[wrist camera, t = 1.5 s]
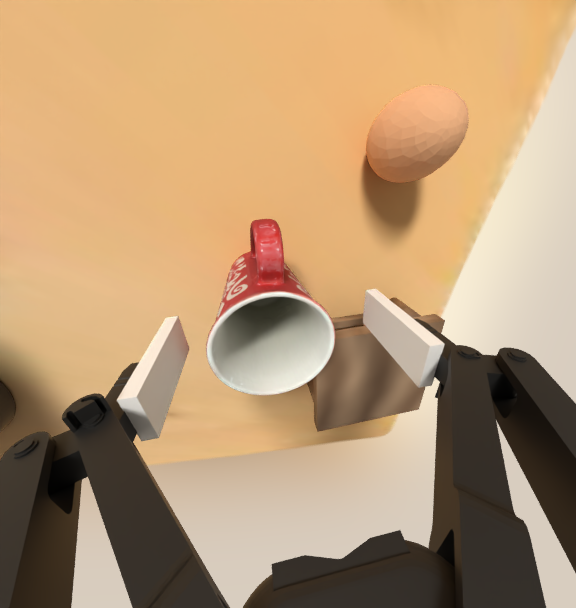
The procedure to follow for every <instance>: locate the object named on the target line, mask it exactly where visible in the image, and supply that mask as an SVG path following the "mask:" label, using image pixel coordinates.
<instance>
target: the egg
mask: <svg viewBox="0 0 576 608" xmlns="http://www.w3.org/2000/svg"><path fill="white" fill-rule="evenodd" d="M468 121H469V116H468V108H467V106H466V103H465V101H464V100H463V99H462V98H461V97H460V96H459V95H458V94H457V93H456V92H455V91H453V90H451V89H448V88H446V87H442V86H439V85H423V86H418V87H415V88H413V89H410V90H408V91H405V92H404V93H402V94H400V95H398V96H397V97H395V98H394V99H392V100H391V101H390V102H389V103H388V104H386V106H385V107H384V108H383V109H382V110H381V112H380V113H379V114H378V115H377V117H376V118H375V120H374V122H373V124H372V126H371V128H370V131H369V134H368V138H367V144H366V152H367V158H368V162H369V164H370V166H371V168H372V169H373V170H374V172H375V173H376V174H377V175H378V176H380V177H381V178H382V179H385V180H387V181H390V182H398V183H403V182H411V181H415V180H419V179H421V178H423V177H425V176H427V175H429V174H431V173H433V172H434V171H435V170H437V169H438V168H440V167H441V166H442V165H443V164H445V163H446V162H447V161H448V160H449V159H450V158H451V157H452V156H453V154H454V153H455V152H456V151H457V150H458V148H459V146H460V145H461V143H462V141H463V139H464V137H465V134H466V131H467V128H468Z"/></svg>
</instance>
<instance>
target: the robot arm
mask: <svg viewBox="0 0 576 608" xmlns="http://www.w3.org/2000/svg"><path fill="white" fill-rule="evenodd" d="M363 323H364V324H365V326H366V327H367V328H368V329H369V330H370V331H371V333H372V334H373V335H374V336H375V337H376V339H377V340H378V341H379V342H380V343H381V344H382V346H383V347H384V348H385V349H386V350H387V351H388V353H389V354H390V355H391V356H392V357H393V358H394V360H395V361H396V362H397V363H398V364H399V365H400V367H401V368H402V369H403V370H404V371H405V372H406V374H407V375H408V376H409V377H410V378H411V379H412V381H413V382H414V383H415V384H416V385H417V386H418V388H420V387H425V386H431V385H432V383H433V380H434V377H436V378H437V379H438V380H439V381H440V384H439V387H438V390H437V393H436V396H435V397H436V398H438V408H437V409H438V410H437V432H436V433H437V434H436V458H435V481H434V506H433V525H432V531H431V536H430V542H429V549H428V548H426V547H424V546H422V545H420V544H417V543H414V542H411V541H407V540H404V538H403V536H402V534H401V531H400V530H399V531H395V532H392V533H388V534H384V535H380V536H376V537H372V538H370V539H368V540H367V541H366V542H364V543H363V544H362V545H360V546H359V547H358V548H356V549H355V550H353V551H352V552H351V553H350V554H348V555H347V556H345V557H344V558H342V559H332V558H323V557H314V556H306V555H305V556H300V557H297V558H293V559H289V560H285V561H282V562H278V563H274V564H272V575H270V576H269V577H268V578H266V579H265V580H264V581H263V582H262V583H261V584H260V585H259V586H258V587H257V588H256V589H255V591H254V592H253V593H252V594H251V596H250V597H249V599H248V600H247V602H246V603H245V605H244V606H243V608H546V605H545V601H544V597H543V592H542V588H541V583H540V579H539V574H538V570H537V566H536V561H535V557H534V552H533V548H532V543H531V539H530V535H529V532H528V529H527V526H526V524H525V523H524V521H523V520H521V519H520V518H518V517H516V515H515V513H514V510H513V506H512V501H511V496H510V491H509V485H508V480H507V475H506V470H505V465H504V459H503V454H502V449H501V444H500V439H499V434H498V428H497V423H496V420H497V422H498V424H499V426H500V428H501V430H502V432H503V434H504V436H505V438H506V440H507V442H508V444H509V445H510V447H511V449H512V451H513V453H514V455H515V457H516V459H517V461H518V463H519V465H520V467H521V469H522V471H523V472H524V474H525V476H526V478H527V480H528V482H529V484H530V486H531V488H532V490H533V492H534V494H535V495H536V497H537V499H538V501H539V503H540V505H541V507H542V509H543V511H544V513H545V515H546V517H547V519H548V521H549V523H550V524H551V526H552V528H553V530H554V532H555V534H556V536H557V538H558V540H559V541H560V543H561V546H562V548H563V549H564V551H565V553H566V555H567V557H568V559H569V561H570V563H571V565H572V567H573V569H574V571H575V573H576V404H575V403H574V401H573V400H572V399H571V398H570V397H569V396H568V395H567V394H566V393H565V392H564V390H563V389H562V388H561V387H560V386H559V385H558V384H557V383H556V381H554V379H553V378H552V377H551V376H550V375H549V374H548V373H547V372H546V370H545V369H544V368H543V367H542V366H541V365H540V364H539V363H538V362H537V360H536V359H535V358H533V357H532V356H531V355H530V354H528V353H526V352H524V351H522V350H519V349H514V348H502V349H500V350H499V352H498V354H497V356H494V355H482V354H481V353H480V352H479V351H477V350H475V349H473V348H471V347H467V346H462V345H455V344H454V343H453V342H451V341H450V340H449V339H447V338H446V337H445V336H443V335H442V334H441V333H439V332H438V331H437V330H436V329H434V328H432V326H430V325H429V324H428V323H426V322H424V321H422V320H420V319H413V318H412V317H410V316H409V315H408V314H407V313H405V312H404V311H403V310H402V309H400V308H399V307H398V306H397V305H395V304H394V303H393V302H392V301H390V300H389V299H388V298H387V297H385V296H384V295H383V294H382V293H380V292H379V291H378V290H377V289H371V290H366V293H365V303H364V313H363ZM188 351H189V346H188V343H187V340H186V337H185V335H184V332H183V329H182V326H181V323H180V320H179V317H178V316H175V317H167V318H166V319H165V320H164V322H163V324H162V325H161V327H160V329H159V330H158V332H157V334H156V335H155V337H154V339H153V340H152V342H151V344H150V345H149V347H148V349H147V350H146V352H145V354H144V355H143V357H142V359H141V360H140V362H138V363H132V364H131V365H129V366H128V367H127V368H126V369H125V370H124V371H123V372H122V374H121V375H120V377H119V378H118V380H117V381H116V383H115V384H114V387H112V389H111V390H110V392H109V393H108V395H107V396H106V398H104V396H102V395H101V394H91V395H87V396H85V397H83V398H80V399H79V400H77V401H76V402H74V403H72V404H71V405H70V406H69V407H68V408H67V409H66V410H65V412H64V413H63V415H62V420H63V421H64V422H65V424H66V425H67V426H68V427H69V428H70V430H69V431H67V432H64V433H62V434H59V435H57V436H54V437H51V436H50V435H49V434H48V433H46V432H37V433H34V434H31V435H29V436H27V437H25V438H23V439H21V440H20V441H18V442H17V443H15V444H14V445H13V446H12V447H11V448H10V449H9V450H7V451H6V452H5V454H4V455H3V457H2V458H1V460H0V608H71V603H72V591H73V579H74V578H73V577H74V567H75V553H76V543H77V530H78V519H79V507H80V494H81V482H82V479H84V478H86V477H88V478H89V480H90V484H91V487H92V489H93V493H94V495H95V498H96V501H97V504H98V507H99V510H100V513H101V516H102V519H103V522H104V525H105V528H106V530H107V534H108V537H109V539H110V542H111V545H112V548H113V551H114V554H115V557H116V560H117V563H118V566H119V569H120V572H121V575H122V578H123V580H124V583H125V586H126V589H127V592H128V595H129V598H130V601H131V604H132V607H133V608H230V607H229V605H228V604H227V602H226V601H225V599H224V597H223V595H222V594H221V592H220V591H219V589H218V587H217V586H216V584H215V582H214V581H213V579H212V577H211V576H210V574H209V572H208V570H207V569H206V567H205V565H204V564H203V562H202V560H201V558H200V557H199V555H198V553H197V551H196V550H195V548H194V546H193V544H192V543H191V541H190V539H189V538H188V536H187V534H186V532H185V531H184V529H183V527H182V526H181V524H180V522H179V520H178V519H177V517H176V516H175V513H174V512H173V510H172V508H171V507H170V505H169V503H168V501H167V500H166V498H165V496H164V495H163V493H162V491H161V490H160V488H159V486H158V484H157V482H156V481H155V479H154V477H153V476H152V474H151V472H150V470H149V469H148V467H147V465H146V464H145V462H144V460H143V458H142V457H141V455H140V453H139V451H138V450H137V448H136V446H135V445H134V443H133V441H134V439H135V436H136V434H137V435H138V436H139V438H140V439H141V441H145V440H150V439H155V438H159V436H160V433H161V430H162V427H163V424H164V421H165V419H166V416H167V413H168V410H169V407H170V404H171V401H172V398H173V395H174V392H175V389H176V386H177V384H178V381H179V378H180V375H181V372H182V369H183V366H184V363H185V360H186V357H187V354H188ZM14 414H15V403H14V400H13V397H12V395H11V394H10V392H9V391H8V389H7V388H6V387H5V386H4V385H3V384H2V383H1V382H0V432H1V431H2V430H3V429H4V428H5V427H6V426H7V425H8V424H9V423H10V421H11V420H12V418H13V416H14Z"/></svg>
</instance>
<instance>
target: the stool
mask: <svg viewBox="0 0 576 608" xmlns="http://www.w3.org/2000/svg"><path fill="white" fill-rule="evenodd" d="M390 301H392V302H393V303H394V304H395V305H397V306H398V307H399V308H400V309H402V310H403V311H404V312H405V313H407V314H408V315H409V316H410V317H412V318H413V319H420V320H422V321H424V322H426V323H428V324H429V325H430V326H432V328H434V329H436V330H437V331H438V332H439V333H441V332H442V329H443V325H444V322H445V320H443V319H442V318H440V317H439V316H437V315H436V314H432V315H426V316H420V315H419V314H418V313H416V312H415V311H414V310H412V309H411V308H409V307H408V306H407V305H405V304H404V303H403V302H401V301H400V300H398V299H397V298H391V299H390ZM332 322H333V324H334V328H335V329H339V328H345V327H351V326H357V325H363V324H364V323H363V314H358V315H351V316H345V317H339V318H333V319H332ZM307 384H308V386H309V389H310V392H311V395H312V398H313V401H314V422H315V425H316V428H317V431H323V430H327V429H332V428H336V427H341V426H345V425H350V424H354V423H359V422H363V421H368V420H373V419H377V418H382V417H386V416H391V415H395V414H400V413H404V412H409V411H413V410H418V409H419V406H420V403H421V400H422V396H423V393H424V390H425V387H420V388H418V386H417V385H416V384H415V383H414V382H413V381H412V379H411V378H410V377H409V376H408V375H407V374H406V372H405V371H404V370H403V369H402V368H401V367H400V365H399V364H398V363H397V362H396V361H395V360H394V358H393V357H392V356H391V355H390V354H389V353H388V351H387V350H386V349H385V348H384V347H383V346H382V344H381V343H380V342H379V341H378V340H377V339H376V337H375V336H374V335H373V334H372V333H371V331H370V330H369V329H368V328H367V327H366V326H360V327H354V328H348V329H342V330H336V331H335V345H334V350H333V352H332V355H331V357H330V359H329V361H328V363H327V364H326V365H325V367H324V368H323V369H322V371H321V372H320V373H319V374H318V375H316V376H315V377H314V378H313V379H312V380H310V381H309V382H307Z"/></svg>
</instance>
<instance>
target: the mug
mask: <svg viewBox="0 0 576 608" xmlns="http://www.w3.org/2000/svg"><path fill="white" fill-rule="evenodd" d="M250 238H251V240H250V241H251V251H250V252H248V253H245V254H243V255H242V256H240V257H239V258H238V259H237V260H236V261H235V262H234V264H233V265H232V267H231V269H230V272H229V274H228V279H227V283H226V286H225V290H224V293H223V297H222V301H221V303H220V307H219V311H218V314H217V318H216V321H215V323H214V325H213V326H212V328H211V330H210V333H209V335H208V339H207V344H206V355H207V359H208V363H209V365H210V367H211V369H212V371H213V372H214V374H215V375H216V376H217V377H218V378H219V379H220V380H221V381H222V382H223V383H224V384H226V385H227V386H229V387H231V388H233V389H235V390H238V391H240V392H243V393H247V394H253V395H274V394H280V393H284V392H288V391H291V390H294V389H296V388H298V387H300V386H302V385H304V384H306V383H307V382H309V381H310V380H312V379H313V378H314V377H315V376H316V375H318V374H319V373H320V372H321V371H322V369H323V368H324V367H325V365H326V364H327V363H328V361H329V359H330V357H331V355H332V352H333V350H334V345H335V328H334V324H333V322H332V319H331V318H330V316H329V314H328V313H327V311H326V310H325V309H324V308H323V307H322V306H321V305H320V304H319V303H317V302H316V301H314V300H313V298H312V297H311V296H310V295H309V293H308V292H307V291H306V290H305V288H304V287H303V286H302V285H301V283H300V282H299V281H298V280H297V278H296V277H295V276H294V274H293V273H292V272H291V271H290V269H289V268H288V267H287V265H286V264H285V263H284V253H283V243H282V237H281V231H280V228H279V226H278V224H277V222H276V221H275V220H272V219H260V220H255V221H253V222H252V223H251V228H250Z"/></svg>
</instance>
